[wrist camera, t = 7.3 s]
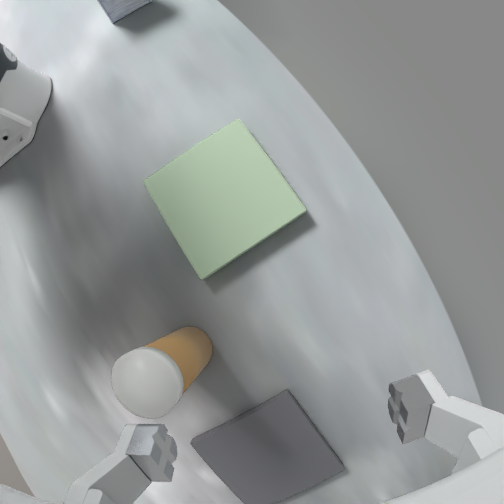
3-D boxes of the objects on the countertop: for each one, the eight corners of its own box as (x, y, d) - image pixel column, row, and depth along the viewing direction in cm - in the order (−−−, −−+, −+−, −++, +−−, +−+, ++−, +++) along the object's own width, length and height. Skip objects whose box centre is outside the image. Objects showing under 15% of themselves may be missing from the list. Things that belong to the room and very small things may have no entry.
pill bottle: (185, 378, 33) (137, 427, 19) (159, 339, 33) (99, 369, 20) (222, 356, 33) (191, 401, 19) (196, 316, 33) (149, 338, 20)
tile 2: (253, 505, 30) (252, 511, 29) (193, 438, 32) (190, 443, 30) (342, 463, 30) (344, 469, 29) (287, 388, 32) (288, 393, 30)
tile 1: (203, 279, 33) (200, 279, 32) (147, 185, 35) (142, 181, 33) (305, 212, 33) (306, 209, 32) (239, 124, 35) (238, 118, 33)
